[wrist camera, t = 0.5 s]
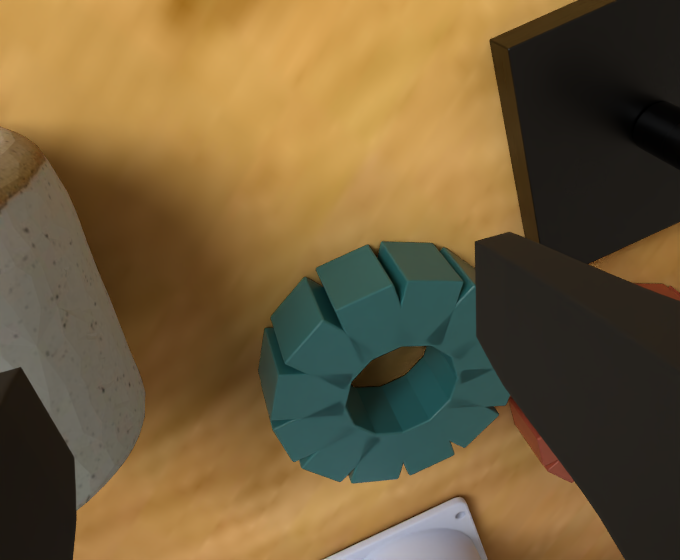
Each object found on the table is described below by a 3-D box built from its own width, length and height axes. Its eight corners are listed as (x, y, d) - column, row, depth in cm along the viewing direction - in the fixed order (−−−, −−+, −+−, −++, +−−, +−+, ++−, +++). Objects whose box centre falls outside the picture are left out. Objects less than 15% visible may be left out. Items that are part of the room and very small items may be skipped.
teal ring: (506, 374, 27) (537, 416, 25) (311, 464, 27) (326, 515, 25) (463, 200, 22) (499, 235, 19) (217, 311, 21) (227, 360, 19)
